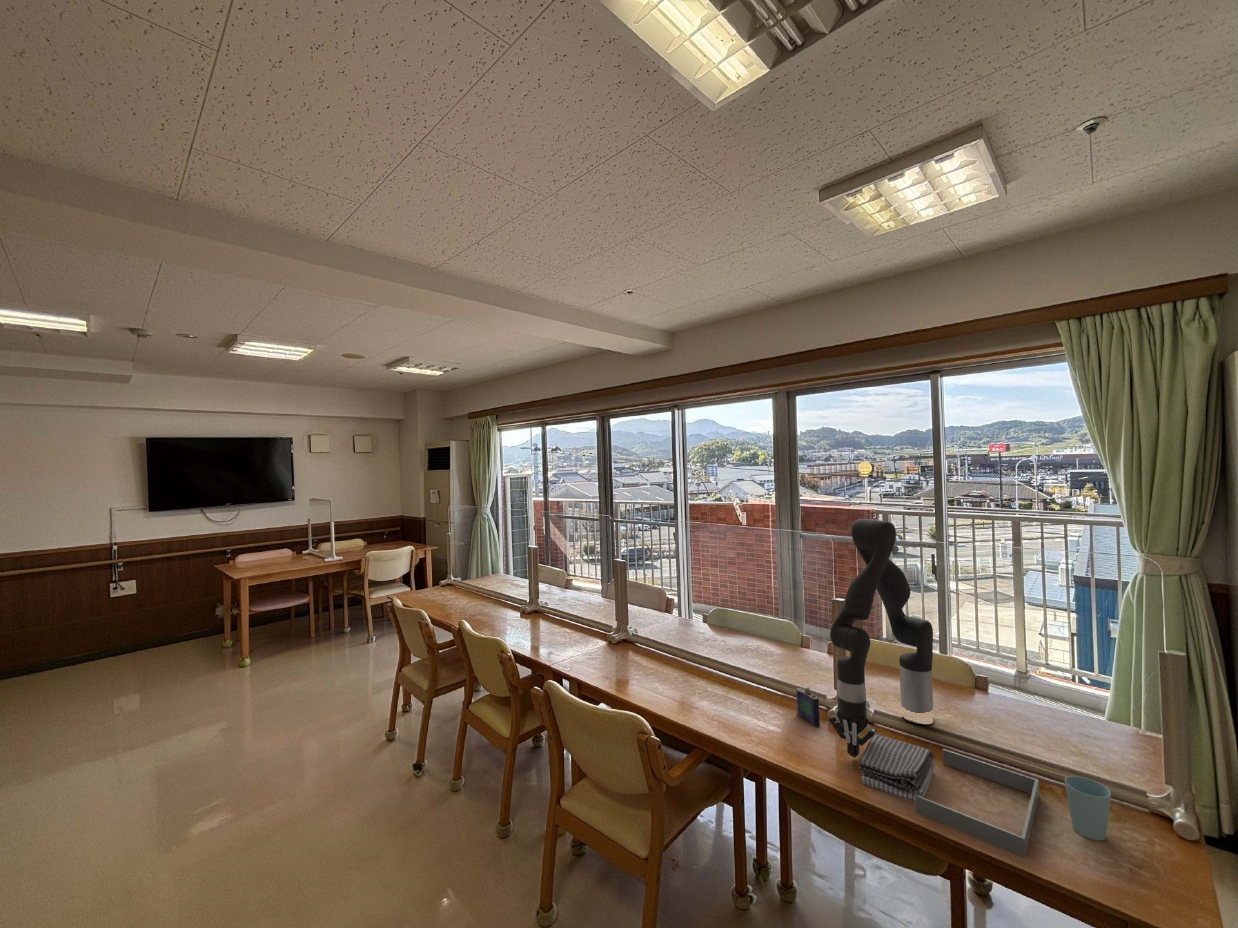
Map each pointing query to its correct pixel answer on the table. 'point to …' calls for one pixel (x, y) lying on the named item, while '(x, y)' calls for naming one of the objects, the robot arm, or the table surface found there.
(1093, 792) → the cup
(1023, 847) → the tray
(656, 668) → the table surface
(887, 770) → the towel
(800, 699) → the flask
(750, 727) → the table surface
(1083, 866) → the table surface
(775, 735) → the table surface
